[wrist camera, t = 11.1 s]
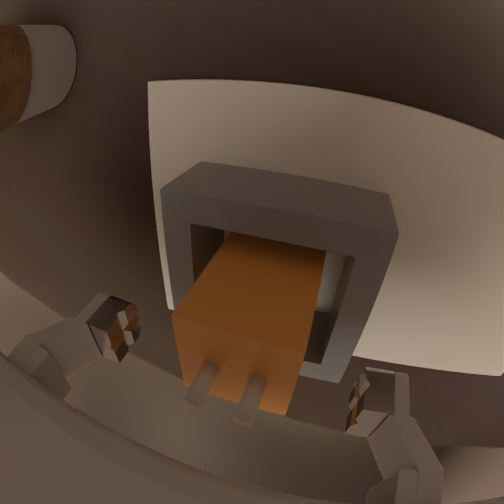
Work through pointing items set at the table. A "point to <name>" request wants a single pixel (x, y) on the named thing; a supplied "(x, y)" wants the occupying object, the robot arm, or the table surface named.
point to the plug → (248, 324)
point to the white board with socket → (341, 213)
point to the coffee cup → (34, 70)
